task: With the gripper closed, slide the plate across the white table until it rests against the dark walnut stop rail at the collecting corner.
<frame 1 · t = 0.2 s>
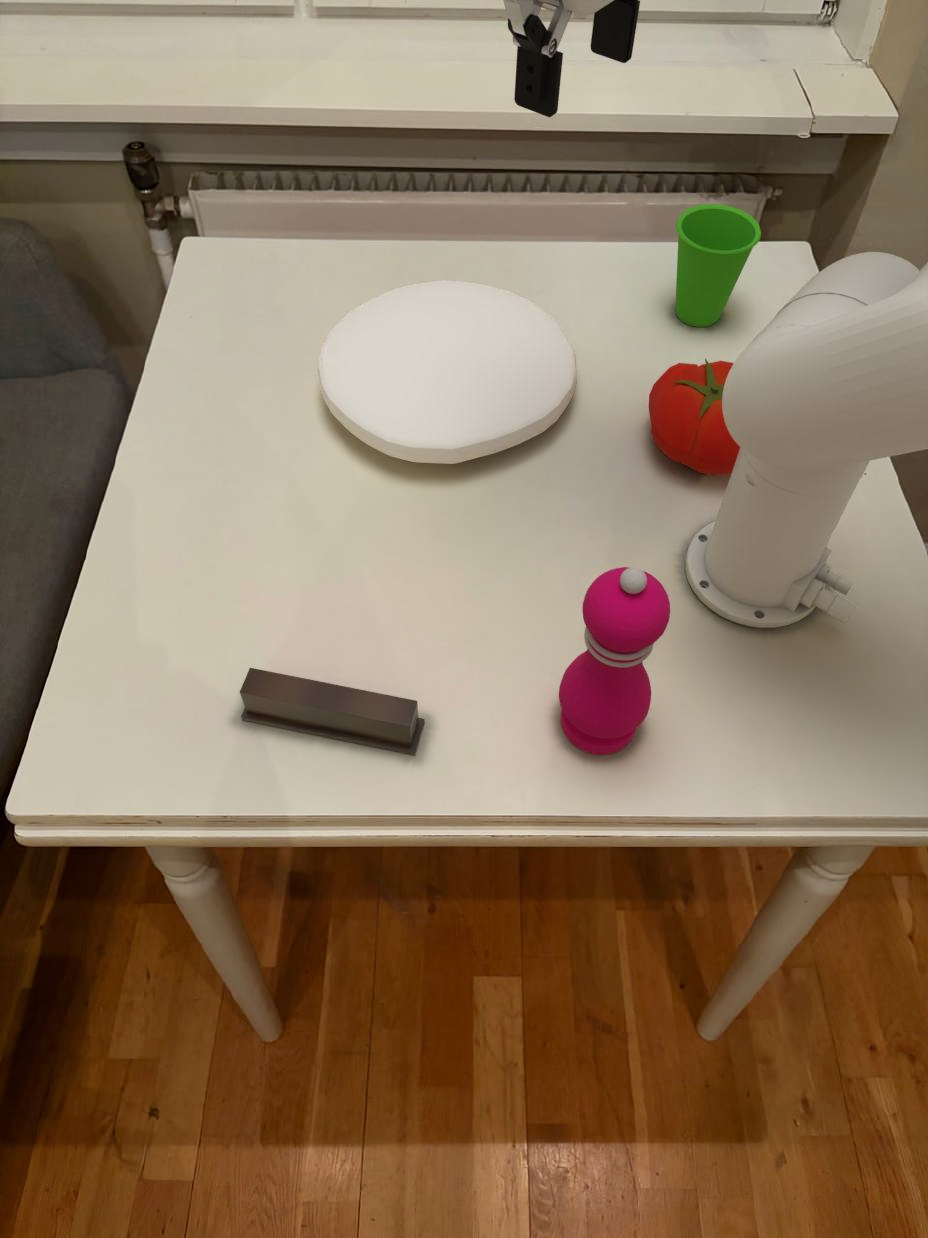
hand: (574, 81, 67), 37 cm above the table, tool pointing down, fingers open, 9 cm apart
stop rail: (333, 721, 78), on the table
tomato: (700, 447, 98), on the table
plate: (448, 389, 102), on the table
pepper mill: (597, 723, 79), on the table
cup: (696, 315, 110), on the table
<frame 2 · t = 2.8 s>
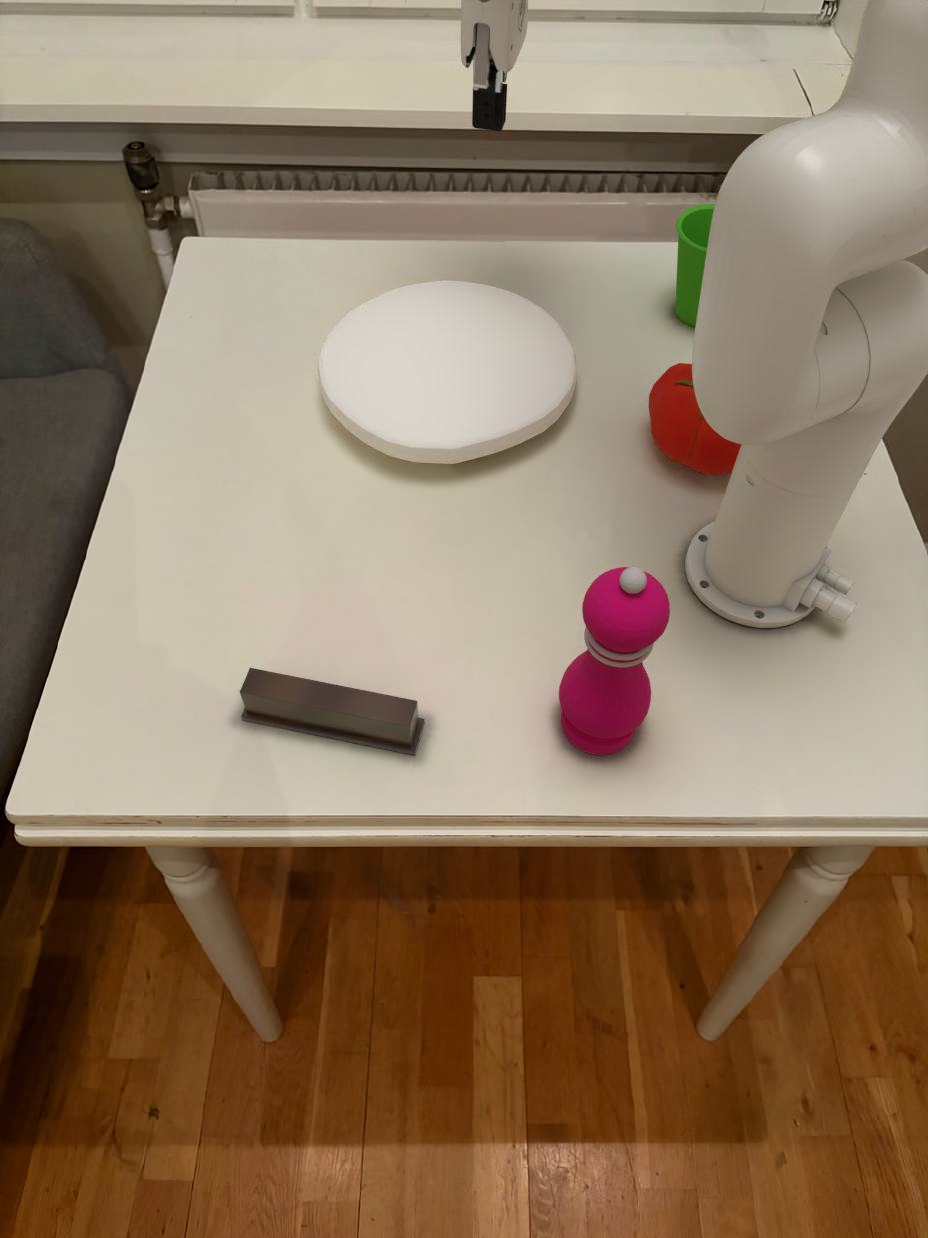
hand: (488, 125, 98), 19 cm above the table, tool pointing down, fingers closed
nothing on the table moved.
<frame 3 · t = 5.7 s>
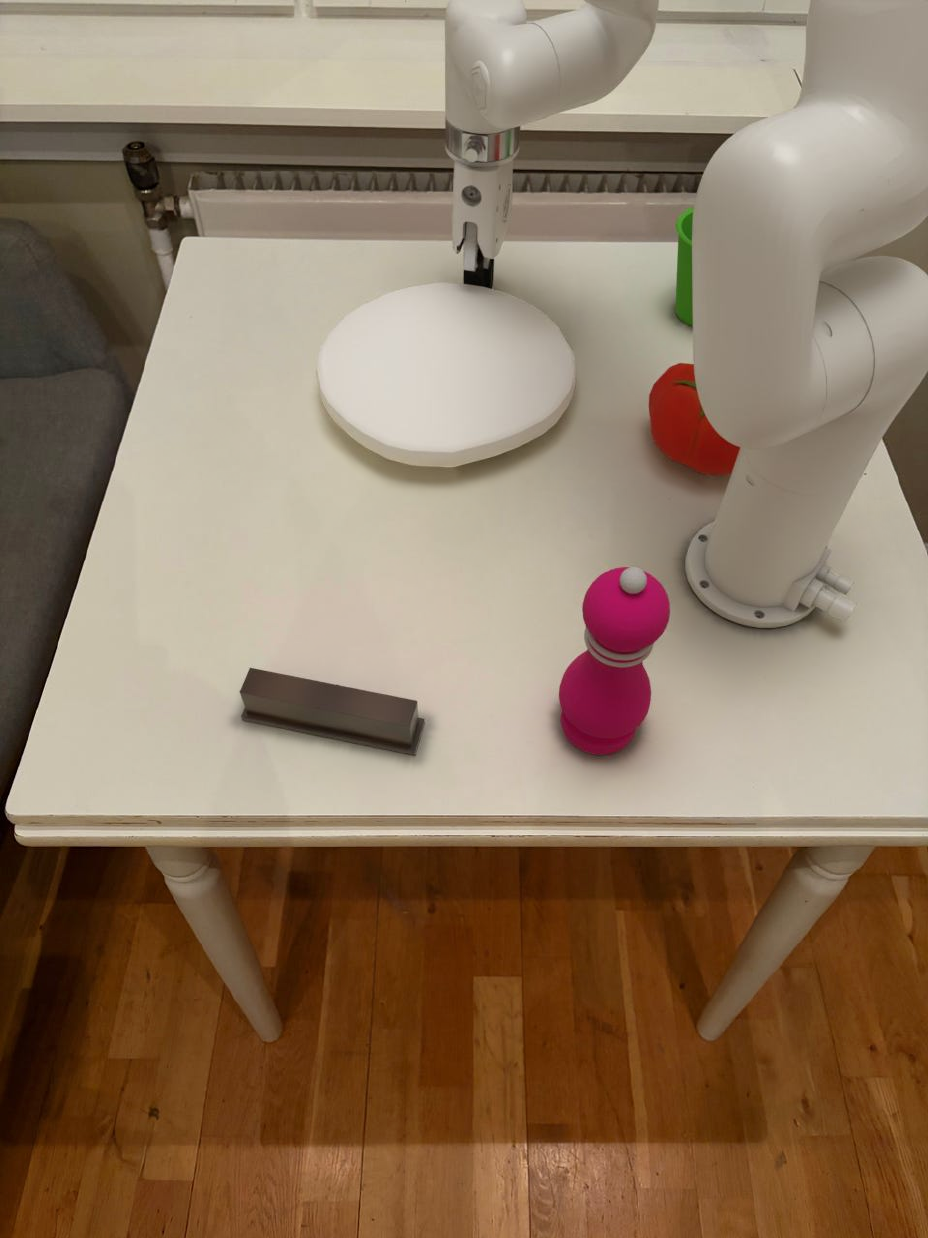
hand: (478, 290, 110), 2 cm above the table, tool pointing down, fingers closed
plate: (447, 392, 102), on the table, touching gripper
everything else where it was.
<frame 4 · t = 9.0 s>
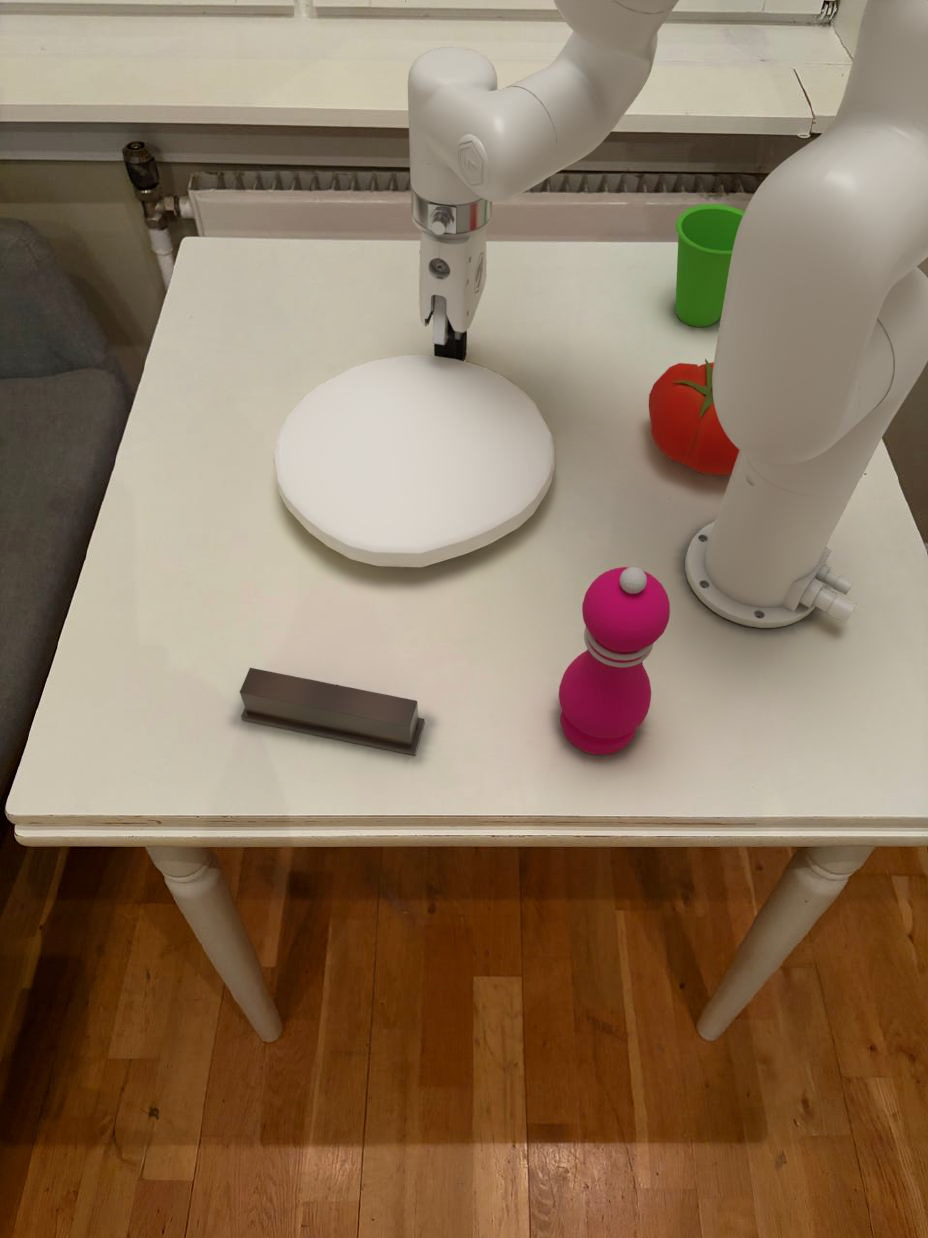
hand: (450, 359, 102), 2 cm above the table, tool pointing down, fingers closed
plate: (416, 476, 95), on the table, touching gripper
everything else where it was.
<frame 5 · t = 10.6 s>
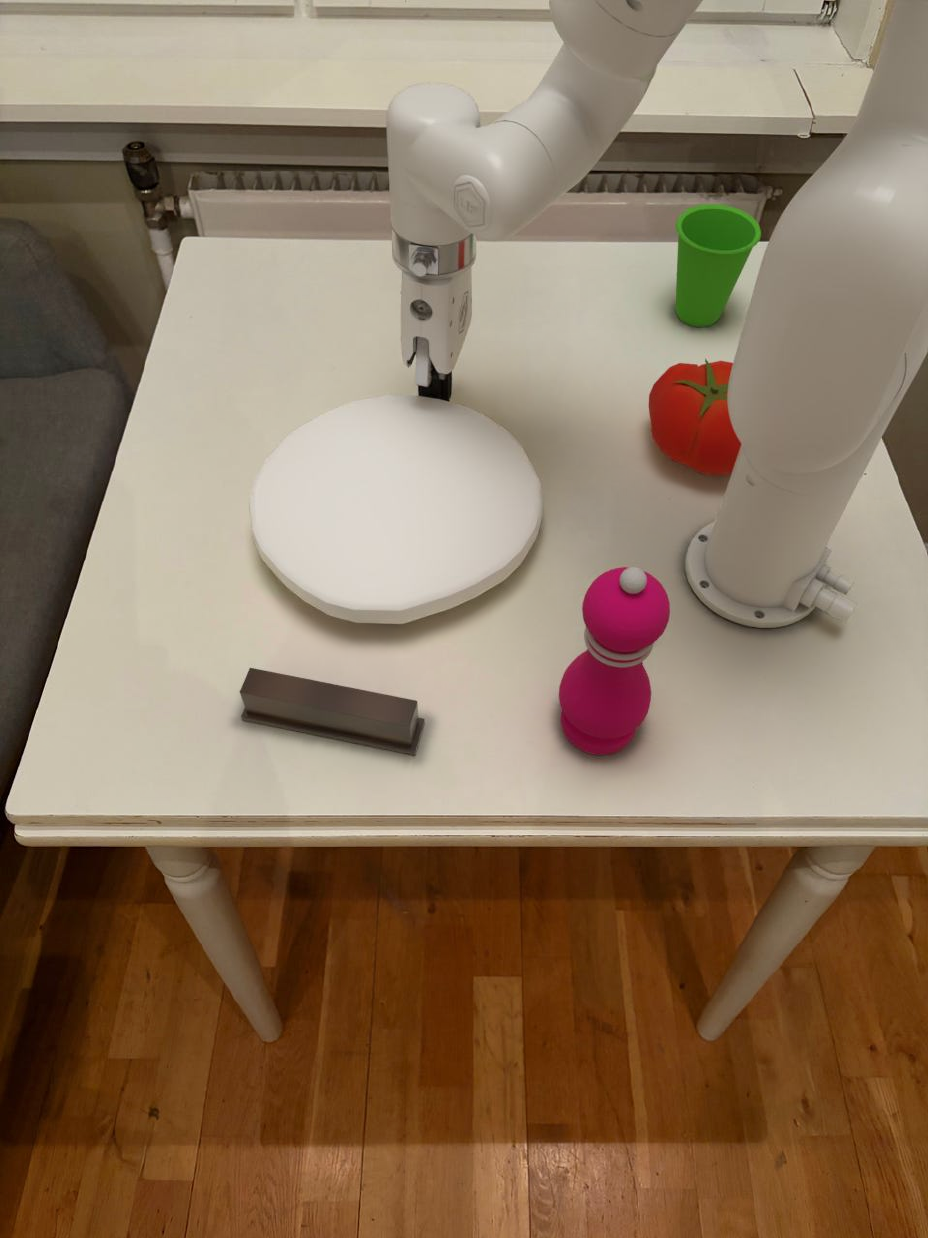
hand: (435, 398, 99), 2 cm above the table, tool pointing down, fingers closed
plate: (399, 523, 91), on the table, touching gripper
everything else where it was.
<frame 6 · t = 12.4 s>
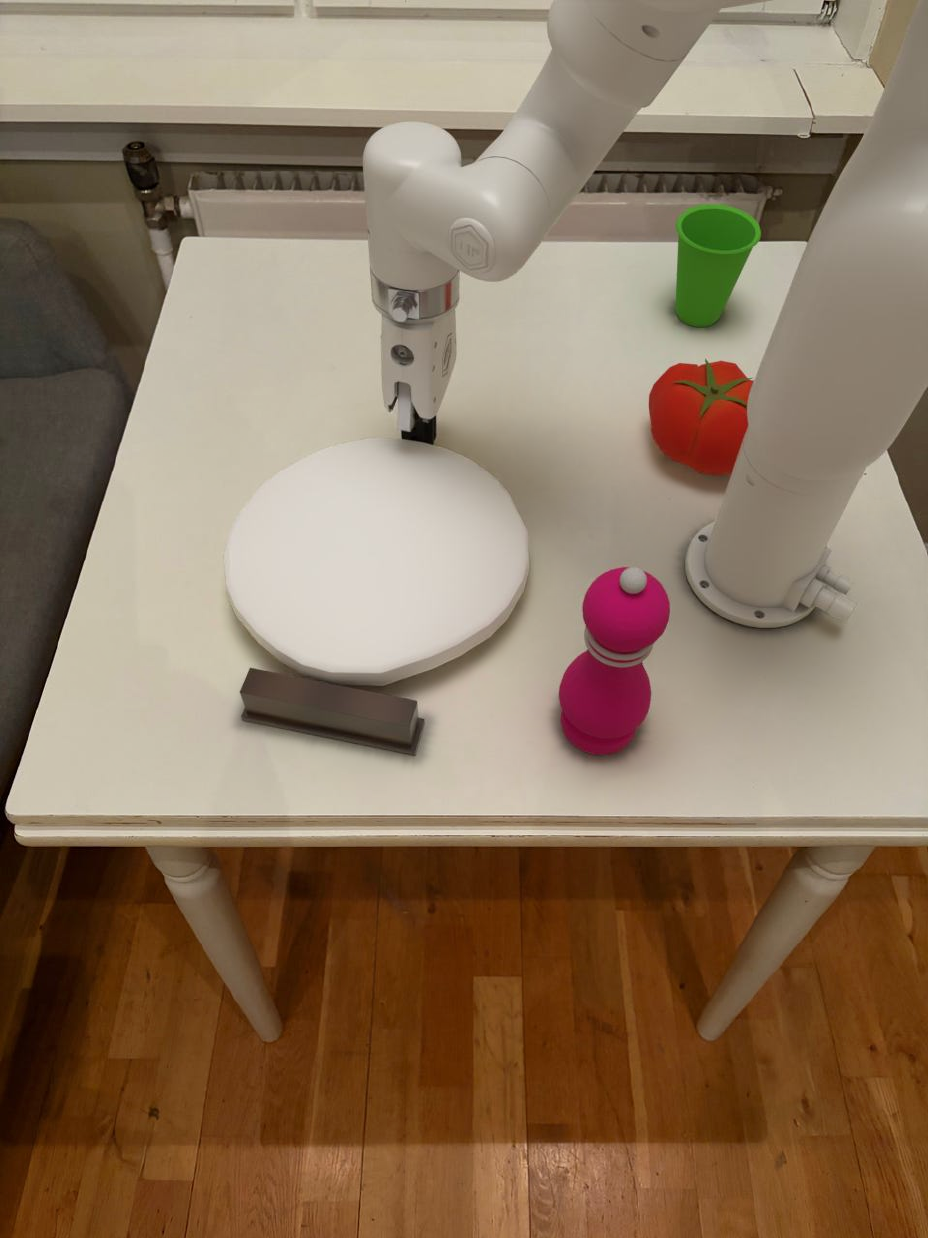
hand: (419, 440, 95), 2 cm above the table, tool pointing down, fingers closed
plate: (381, 573, 88), on the table, touching gripper
everything else where it was.
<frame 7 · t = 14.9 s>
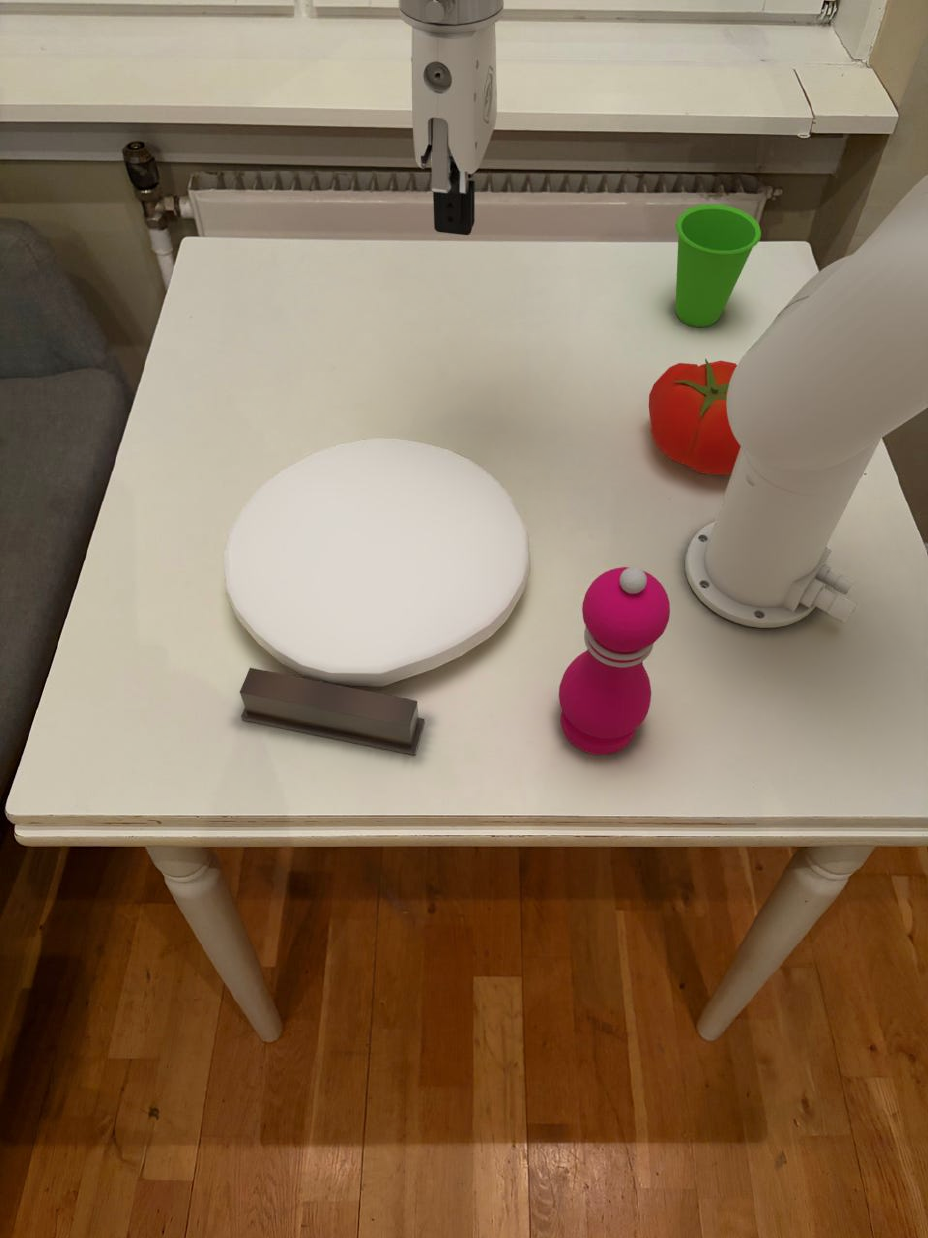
hand: (454, 227, 82), 22 cm above the table, tool pointing down, fingers closed
plate: (381, 574, 88), on the table
everything else where it was.
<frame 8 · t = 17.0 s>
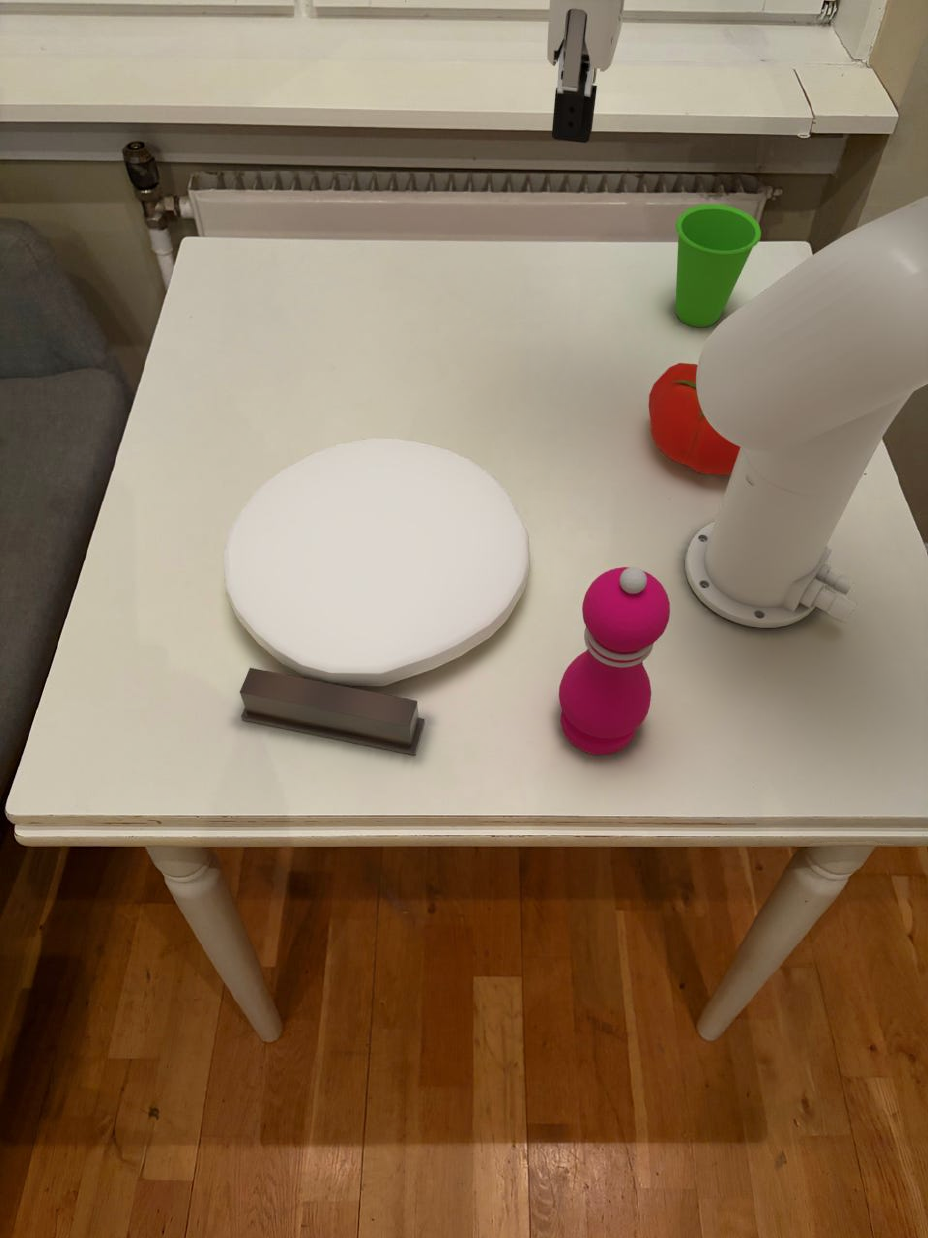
hand: (571, 135, 81), 27 cm above the table, tool pointing down, fingers closed
nothing on the table moved.
at the end: plate inside the target area on the table beside the stop rail (0.2 cm from its centre), on the table; plate moved 26.2 cm from its start; plate tilted 1° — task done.
